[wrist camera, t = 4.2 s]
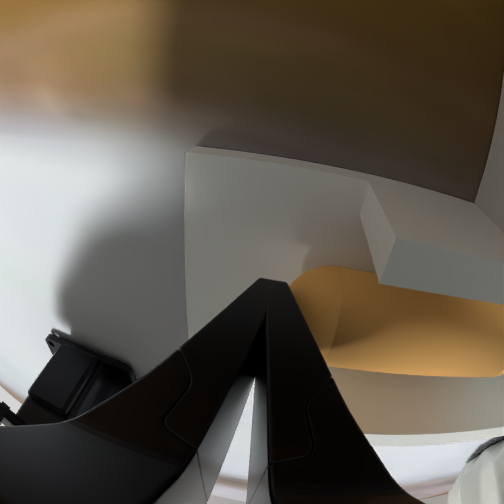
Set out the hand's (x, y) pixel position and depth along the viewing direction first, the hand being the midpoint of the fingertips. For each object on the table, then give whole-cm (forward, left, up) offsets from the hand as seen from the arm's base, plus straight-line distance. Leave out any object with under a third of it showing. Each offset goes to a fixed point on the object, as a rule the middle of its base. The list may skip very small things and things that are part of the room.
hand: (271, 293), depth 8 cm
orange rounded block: (-1, -5, -2) cm, 5 cm away
